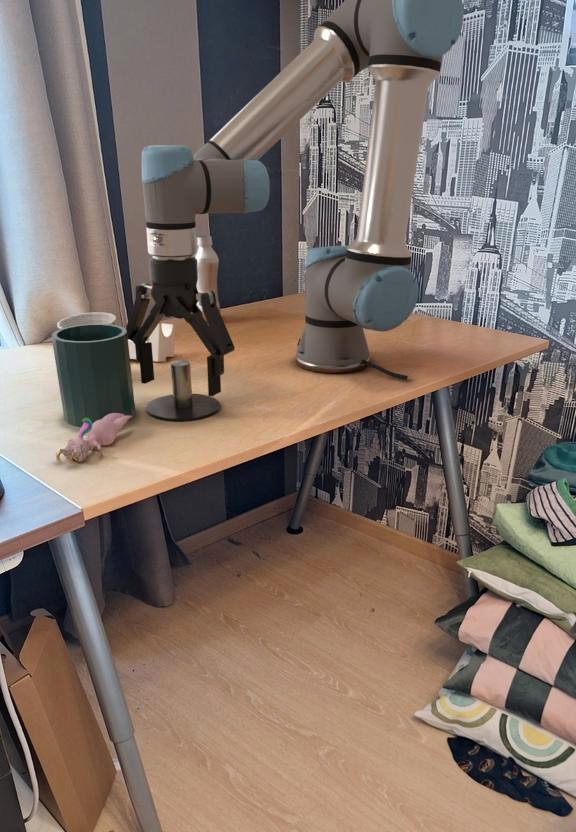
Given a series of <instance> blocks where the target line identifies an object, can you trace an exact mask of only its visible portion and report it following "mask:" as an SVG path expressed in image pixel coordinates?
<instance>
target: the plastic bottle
mask: <svg viewBox="0 0 576 832" xmlns="http://www.w3.org/2000/svg"><path fill="white" fill-rule="evenodd" d="M212 239H213V237H212V236H211V235H196V245H197V253H196V254H194V255H193V257H195V258H196V259H197V269H198V280H197V290H198V292H199V293H206V292H209V291H214V293H215V296H216V304H217V307H218V310H219V312H220V313H221V312H222V311H221V304H220V301H219V293H218V272H219V260H220V259H219V257H218V254H217V253H216V251H215V250H214V249H213V247H212V246H213V240H212ZM197 306H198V307H199V309H200V310H201V312H202V314H203V315H202V316H203V318H204V319H205V321H206V322H207V319H206V317H205V315H204V312H203V309H202V306H200V305H199V301H198V302H197ZM207 323H208V322H207Z"/></svg>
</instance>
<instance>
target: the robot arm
mask: <svg viewBox="0 0 576 832" xmlns="http://www.w3.org/2000/svg"><path fill="white" fill-rule="evenodd" d="M463 25H464V2H463V0H344V1H343V2H342V3H341V4H340V5H338V7H337V8H336V9H335V10H334V11H333V12H332V13H331V14H330V15H328V17H327V18H326V19H325V20H324V21H323V22H321V24H320V25H318V26H317V27H316V28H315V30H314V32H313V39H312V42H311V43H309V44H308V46H306V48H304V49H303V50H302V51H301V52H300V53H299V54H298V55H297V56H296V57H295V58H294V59H293V60H292V61H291V62H289V64H287V65H286V66H285V67H284V68H283V69H282V70H281V71H280V72H279V73H278V74H277V75H276V76H275V77H274V78H273V79H272V80H271V81H269V83H267V85H266V86H265V87H263V88H262V89H261V90H260V91H259V92H258V93H257V94H256V95H255V96H254V97H253V98H252V99H251V100H250V101H249V102H248V103H247V104H246V105H245V106H243V108H242V109H240V111H238V112H237V113H236V114H235V115H234V116H233V117H232V118H231V119H230V120H229V121H227V123H226V124H225V125H223V127H222V128H221V129H220V130H218V132H216V134H214V136H212V137H211V138H210V139H209V140H208V141H207V142H206V143H205V144H204V145H202V146H201V148H199V149H198V151H196V152H195V153H194V154H193V150H192V148H191V147H190V146H188V145H160V144H159V145H147V146H145V147H144V148H143V149H142V152H141V179H140V180H141V183H142V192H143V193H142V194H143V203H144V212H145V213H144V214H145V227H146V228H145V229H146V241H147V253H148V254H149V255H150V256H151V257H150V258H149V259H148V271H149V272H148V273H149V280H150V282H151V283H152V285H151V284H150V283H149V282H145V283H141V284H138V285H136V286H135V299H134V302H133V305H132V309H131V312H130V314H129V317H128V319H127V320H128V321H127V323H126V327H125V329H127V336H128V340H131V341H133V343H134V344H135V350H136V359H135V360H136V362H137V363H139V368H140V369H139V370H140V382H141V384H144V385H145V384H148V383H150V382H152V381H154V380H155V370H154V369H155V368H154V361H153V355H152V343H150V342H147V343H146V341H148V340H149V339H148V338H149V337H150V335H151V334H152V332H153V331H154V329H155V328H156V327H157V325H158V324H159V323H160V322H161V321H162V319H163V318H164V317H165V318H172V317H173V318H176V319H179V320H181V319H184V322H186V323H187V324H189V325H190V326H191V328H192V329H193V331H194V332H195V334H196V336H198V338H199V339H200V341H201V343H202V344H203V345H204V347H205V348H206V349H207V351H208V352H209V354H210V355H208V356H206V365H207V367H206V368H207V369H206V371H207V392H208V393H207V396H210V397H214V396H217V394H220V393H222V381H221V379H222V378H221V376H222V375H224V373H225V355H229V354H230V353H233V352H234V351H235V345H234V342H233V340H232V338H231V336H230V333H229V331H228V329H227V326H226V324H225V322H224V321H225V320H224V318H223V317H222V314H221V311H220V312H219V310H218V307H217V304H216V296H215V293H214V291H209V292H206V293H199V292H198V290H197V280H198V269H197V259H196V258H195V257H193V255H194V254H196V253H197V246H198V245H196V237H197V228H196V226H197V225H196V215H206V214H242V213H243V214H244V215H246V214H248V213H255V212H261V211H262V210H264V209H265V207H266V206H267V204H268V202H269V199H270V191H271V185H270V184H271V182H270V176H269V173H268V170H267V168H266V166H265V165H264V163H263V162H262V161H260V158H262V157H263V156H264V155H265V154H266V153H267V152H269V150H270V149H272V147H273V146H274V145H275V144H276V143H278V142H279V141H280V140H281V139H282V138H283V137H284V136H285V135H286V134H287V133H288V132H289V131H290V130H291V129H292V128H293V127H294V126H296V124H297V123H299V122H300V121H301V120H302V119H303V118H304V117H305V116H306V115H307V114H308V113H309V112H310V111H311V110H312V109H313V108H315V106H317V104H318V103H320V101H322V100H323V99H324V98H325V97H326V96H327V95H328V94H329V93H330V92H331V91H332V90H333V89H334V88H335V87H337V86H338V85H339V83H341V82H343V83H349V82H351V81H352V80H353V79H354V78H355V77H356V76H358V74H360V73H361V72H362V71H364V70H366V69H367V71H368V72H369V73H370V75H371V76H372V78H373V80H374V92H373V102H372V109H371V116H370V124H369V133H368V142H367V148H366V156H365V157H366V158H365V165H364V173H363V182H362V188H361V189H362V190H361V198H360V206H359V215H358V222H357V231H356V238H355V239H354V240H352V242H351V243H349V244H348V245H332V246H317V247H313V248H310V249H309V250H308V251H307V253H306V258H305V266H304V271H305V287H304V289H305V290H304V291H305V292H304V293H305V296H304V297H305V298H304V299H305V301H304V306H305V308H304V309H305V310H304V312H305V313H304V315H305V316H304V327H303V331H302V333H301V336H300V338H299V339H298V342H297V345H296V347H297V348H296V353H295V364H296V365H297V366H299V367H300V368H302V369H304V370H307V371H311V372H316V373H322V374H323V373H325V374H347V373H353V372H358V371H361V370H364V369H366V368H367V367H370V368H372V369H374V370H376V371H379V372H381V373H383V374H385V375H387V376H389V377H393V378H396V379H401V380H405V381H406V380H408V378H409V377H408V375H406V374H403V373H402V374H401V373H397V372H393V371H391V370H389V369H386V368H384V367H383V366H380V365H378V364H375V363H373V362H370V359H371V354H370V349H369V345H368V342H367V338H366V335H365V331H364V329H365V330H371V331H376V332H389V331H392V330H394V329H396V328H399V327H400V326H401V325H402V324H403V323H404V322H406V321H407V320H408V318H409V317H410V316H411V315H412V313H413V311H414V310H415V308H416V306H417V302H418V299H419V284H418V281H417V279H416V278H415V275H414V274H413V272H412V271H410V269H411V268H410V267H411V262H412V252H411V250H410V249H409V248H408V246H407V245H406V239H407V238H406V237H407V232H408V231H407V230H408V224H409V219H410V218H409V217H410V212H411V206H412V197H413V191H414V185H415V178H416V172H417V164H418V159H419V152H420V145H421V138H422V132H423V125H424V120H425V113H426V112H425V111H426V105H427V100H428V99H427V98H428V91H429V87H430V86H431V84H433V83H434V82H435V81H436V80H437V79H438V78H439V77H440V75H441V69H442V63H443V57H444V56H445V55H446V54H447V53H448V52H449V51H451V49H452V47H453V46H454V45H455V44H457V41H458V40H459V38H460V35H461V33H462V29H463ZM151 299H153V301H154V305H153V306H152V307H151V309H150V311H149V314H148V316H147V317H146V318H145V316H146V313H147V310H148V307H149V304H150V301H151ZM198 301H199V305H200V306H202V309H203V312H204V315H205V317H206V319H207V322H206V321H205V319H204V318H203V316H202V315H203V314H202V312H201V310H200V309H199V307H198V306H197V302H198Z"/></svg>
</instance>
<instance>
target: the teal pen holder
mask: <svg viewBox="0 0 576 832" xmlns="http://www.w3.org/2000/svg"><path fill="white" fill-rule="evenodd" d="M128 340H129V339H128V336H127V329H126V327H123V326H122V325H117V324H114V325H112V324H83V325H75V326H69V327H65V328H62V329H59V328H58V329H57V330H54V332H52V333H51V342H52V348H53V354H54V361H55V368H56V374H57V380H58V381H57V382H58V385H59V386H58V387H59V393H60V401H61V406H62V412H63V419H64V421H65V423H67V424H68V425H71V426H72V427H76V428H81V427H82V426H83V424H84V422H82V420H83V419H84V418H89V419H90V420H91V421H92V424H93V423H94V422H96V421H97V420H101V419H103V418H104V417H105V416H106V415H108V414H111V413H120V414H124V415H125V416H132V418H129V419H128V420H127V422H129V421H131V420H133V419H134V418H135V416H136V415H137V414H136V404H135V403H136V402H135V396H134V395H135V393H134V385H133V377H132V368H131V367H132V365H131V359H130V355H129V346H128Z"/></svg>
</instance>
